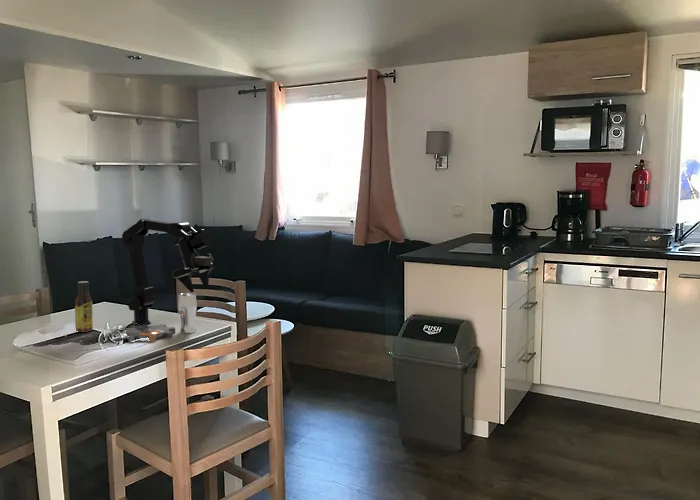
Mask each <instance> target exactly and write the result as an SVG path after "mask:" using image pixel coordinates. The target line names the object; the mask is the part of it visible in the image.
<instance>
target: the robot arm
mask: <svg viewBox="0 0 700 500" xmlns="http://www.w3.org/2000/svg"><path fill="white" fill-rule="evenodd" d="M149 230H150V231H156V232H162V233H166V234H168V235H170V236H171V237H175V240H174V242H173V246H178V247H179V251H180V255H181V257H180V258H179V260H180V261H183V264H184V265H183V266H182V267H180V268H177V269H174V270H173V271H172V275H173V278H174V279H176V281H177V280H178V281H179V282H180V283H181V284H182V285H184V287H185V288H187V290H188V291H189V293H195V291H194V285H193V281H192V276H193V273H195V272H197V276H198V278H199V279H200V282H201V283H202V285H203V287H204V289H205V290H207V289H209V281H210V280H209V279H210V274H211V272H212V271H213V269H214V268H215V266H214V263H213V261H214V258H213V255H212V253H205V255H203V256H202V255H201V253H199V252H197V251H198V250H200V249H203V248H206V247H209V246H210V245H211V244H212V238H211V236H210V235H209V233H208V232H206V229H199V230H198V231H196V230H195V229H194V228H193V227H192V226H191V223H189V222H186V221H184V222H183V221H182V222H167V221H161V220H154V219H150V218H140V219H139V220H137V222H136V223H135V224H132V225H131V226H130V227H128V228H127V229H126V230H124V231H123V233H122V235H121V239H122V242H123V245H124V247H125V248H126V249H127V251H128V252H129V256H130V258H129V259H130V262H131V268H132V272H133V279H134V284H135V286H134V290H133V293H132V296H133V298H132V300H131V301H130V303H129V304H128V305H127V306H128V310H129V311H133V320H132V321H131V323H132V324H133V323H137V324H135V325H134V326H140V325H149V324H150V325H151V321H150V320H149V317H150V315H149V308H153V305H154V302H155V301H156V296H157V295H156V292H155V287H154V286H151V285H150V283H149V282H148V276H147V271H146V267H145V266H146V265H145V260H144V254H143V247H144V244H145V237H146V236H147V235H148V234H149ZM196 250H197V251H196ZM138 324H139V325H138Z"/></svg>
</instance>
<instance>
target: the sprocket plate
mask: <svg viewBox="0 0 700 500" xmlns="http://www.w3.org/2000/svg"><path fill="white" fill-rule="evenodd" d="M125 329H126V330H127V331H126V334H127V335H128V336H129V337H128V338H129V339H130V340H136V339H140V338H147V337H148V338H149V340H150V341H148V342H149V343H153V342H157V341H158V340H163V339H171V338H173V335H174V334H176V327H175V326H167V324H158V325H148V324H142V325H139V326H136V327H127V328H125Z"/></svg>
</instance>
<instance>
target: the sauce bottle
mask: <svg viewBox="0 0 700 500" xmlns="http://www.w3.org/2000/svg"><path fill="white" fill-rule="evenodd" d="M89 283H90V282H89V281H85V280H84V281H83V280H82V281H78V282H77V295H76V297H75V300H74V302H75V303H74V304H75V305H74V314H75V315H74V316H75V319H74V320H75V324H74V325H75V326H74V327H75V332H76V331H78V332H86V333H88V332H87V331H91V330H92V331H93V328H94V327H93V326H94V320H93V300H92V297H91V296H90V291H89V285H90V284H89ZM92 331H91V332H92Z"/></svg>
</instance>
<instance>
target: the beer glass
mask: <svg viewBox="0 0 700 500" xmlns="http://www.w3.org/2000/svg"><path fill="white" fill-rule="evenodd" d="M177 301H178V302H177V305H178V306H177V307H178V315H179V318H180V330H179V332H180V334H193V333H196V332H197V329H196V321H195V320H196V314H197V294H196V293H195V292H192V293H191V292H183V293H179V294H178V298H177Z"/></svg>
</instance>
